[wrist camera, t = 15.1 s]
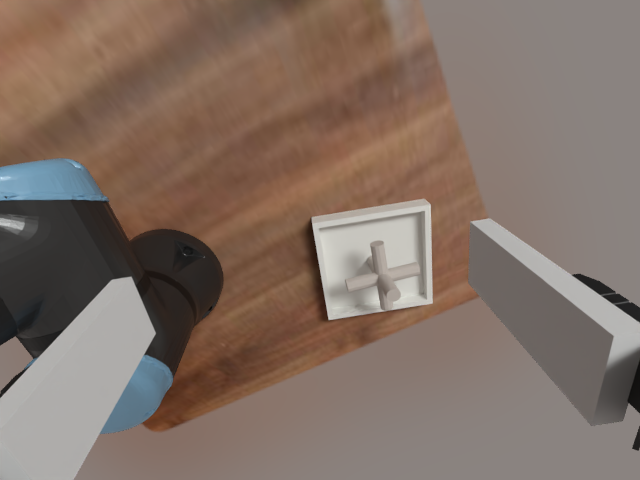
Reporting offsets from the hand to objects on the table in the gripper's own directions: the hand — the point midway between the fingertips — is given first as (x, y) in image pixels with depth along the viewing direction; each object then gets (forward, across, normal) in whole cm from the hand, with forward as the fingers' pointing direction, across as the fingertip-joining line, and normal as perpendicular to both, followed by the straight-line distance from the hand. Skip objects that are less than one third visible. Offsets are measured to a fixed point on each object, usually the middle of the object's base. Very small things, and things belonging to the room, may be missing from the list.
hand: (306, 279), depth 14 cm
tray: (+35, +8, -18) cm, 40 cm away
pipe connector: (+34, +8, -18) cm, 39 cm away
